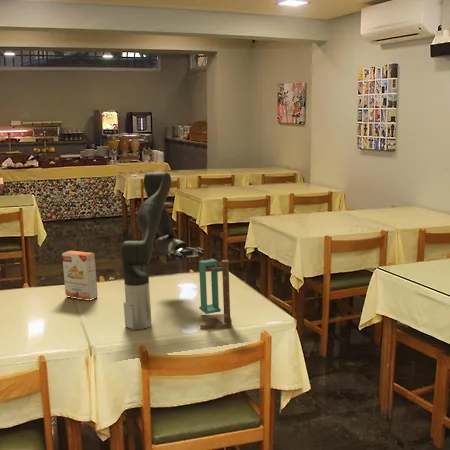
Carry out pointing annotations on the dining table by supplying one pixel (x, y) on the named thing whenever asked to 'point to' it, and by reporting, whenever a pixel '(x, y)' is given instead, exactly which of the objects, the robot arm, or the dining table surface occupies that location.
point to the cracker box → (80, 274)
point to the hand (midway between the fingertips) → (192, 256)
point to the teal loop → (203, 292)
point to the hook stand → (223, 319)
